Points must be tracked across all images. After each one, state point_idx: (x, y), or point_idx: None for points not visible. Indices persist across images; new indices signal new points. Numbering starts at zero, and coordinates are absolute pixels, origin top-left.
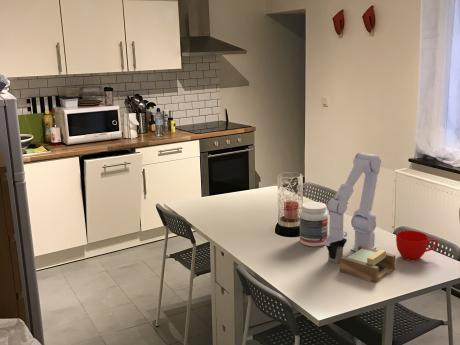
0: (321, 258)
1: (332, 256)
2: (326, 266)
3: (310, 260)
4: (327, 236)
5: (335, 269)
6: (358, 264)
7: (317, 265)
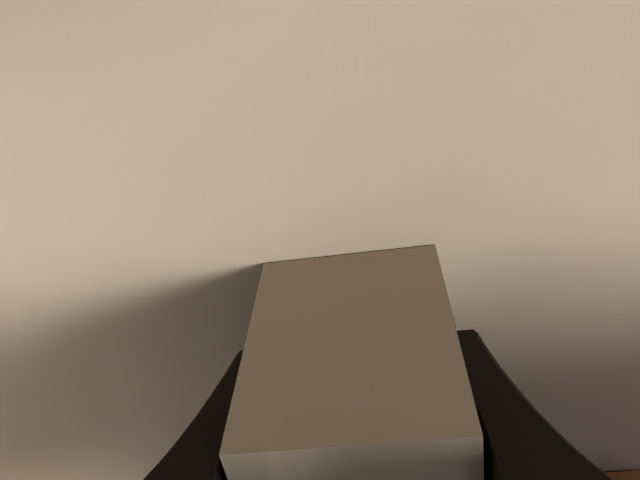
0: (246, 125)
1: None
2: (104, 351)
3: (7, 44)
4: None
5: (145, 453)
6: None
7: (5, 257)
